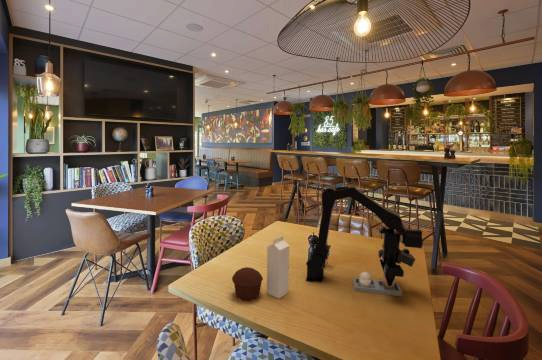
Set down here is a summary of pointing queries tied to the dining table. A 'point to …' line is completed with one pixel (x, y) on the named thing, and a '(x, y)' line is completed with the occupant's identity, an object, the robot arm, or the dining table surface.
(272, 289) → the milk
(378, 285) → the grey flat rectangular tray
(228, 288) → the dining table surface
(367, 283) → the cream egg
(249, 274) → the muffin
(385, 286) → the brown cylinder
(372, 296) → the dining table surface
